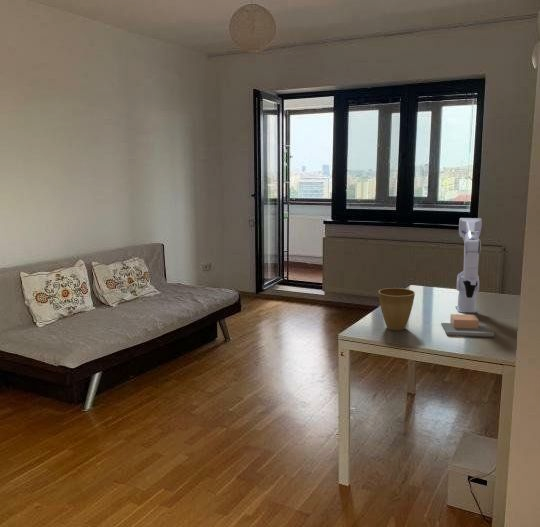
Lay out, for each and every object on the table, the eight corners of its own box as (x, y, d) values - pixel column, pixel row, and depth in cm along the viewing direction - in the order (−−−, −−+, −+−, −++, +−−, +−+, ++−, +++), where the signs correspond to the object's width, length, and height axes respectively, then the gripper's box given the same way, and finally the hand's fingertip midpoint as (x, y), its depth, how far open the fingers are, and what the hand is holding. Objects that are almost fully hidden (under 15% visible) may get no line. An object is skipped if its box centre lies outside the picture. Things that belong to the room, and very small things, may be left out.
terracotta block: (450, 314, 235) (453, 319, 227) (474, 314, 233) (478, 320, 225) (450, 322, 235) (453, 327, 228) (474, 322, 234) (478, 328, 226)
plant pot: (417, 325, 233) (419, 289, 230) (407, 335, 220) (409, 297, 217) (384, 321, 240) (385, 286, 237) (372, 330, 228) (373, 293, 225)
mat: (441, 324, 235) (441, 320, 234) (484, 325, 232) (484, 321, 232) (447, 335, 219) (447, 331, 219) (493, 337, 217) (494, 333, 216)
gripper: (458, 263, 243) (457, 293, 246) (464, 270, 229) (462, 301, 232) (475, 264, 242) (473, 293, 245) (481, 270, 228) (479, 301, 231)
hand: (469, 297), depth 238 cm, fingers closed
